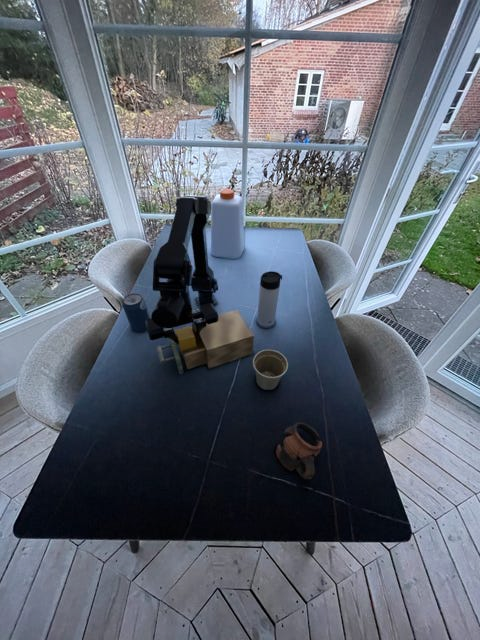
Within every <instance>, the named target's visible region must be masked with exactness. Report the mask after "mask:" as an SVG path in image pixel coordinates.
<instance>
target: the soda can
mask: <svg viewBox="0 0 480 640" xmlns="http://www.w3.org/2000/svg"><path fill="white" fill-rule="evenodd" d="M122 309H123V311H124V313H125V317H126V319H127V321H128V324H129V327H130V328H131V329H132V330H134V331H135V332H145V331H147V327H146V324H145V322H146V320H147V319H150V318H151V315H150V312H149V309H148V306H147V302H146V300H145V298H144V297H143V296H142V295H141V294H139V293H130V294H127V295H126V296H124V298H123V299H122Z"/></svg>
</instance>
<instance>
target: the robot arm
mask: <svg viewBox="0 0 480 640" xmlns="http://www.w3.org/2000/svg"><path fill="white" fill-rule="evenodd" d="M211 203H212V200H210V199H209V198H208V197H207V196H206V195H193V194H192V195H191V194H185V195H184V196H179V197H177V198H176V200H175V208H176V209H175V212H174V213H175V214H174V216H173V220H172V223H171V224H172V225H171V228H170V231H169V235H168V239H167V242H165V243H164V244H163V245H162V246H160V247H159V249H158V252H157V254H156V257H155V258H154V260H153V267H152V269H153V270H152V291H154V292H159V295H158V300H157V303H156V304H155V307H154V308H153V310H152V312H151V315H150V319H147V320H146V322H145V324H146V327H147V329H146V331H147V335H148V338H149V340H151V341H155V340H159V339H162V338H164V339H168V340H169V339H171V340H173V341H174V342H175V344H176V346H179V341H178V338H177V336H176V332H175V328H178V327H181V326H185V325H189V324H191V328H192V331H193V333H194V335H195V340H196V338H197V336H198V335H199V333H200V332H201V330H202V329H203V328H204V327H206V326H207V325H206V324H212V323H216V322H218V320H219V318H218V315H219V313H218V311H217V310H216V308H215V306H216V305H218V302H217V300H216V299H215V297H214V294H216V292H217V291H219V284H218V283H219V282H218V279H217V278H216V277H215V272H214V270H213V269H212V267H210V266H209V256H208V255H209V254H208V244H207V242H208V241H207V231H206V225H207V223H208V222H209V219H210V217H211ZM190 240H191V247H192V255H193V262H194V263H193V264H194V267H193V265H192V262H191V258H190V254H189V251H188V249H189V245H190ZM160 279H162V280H166V281H160ZM190 287H191V291H192V292H197V296H196V298H195V299H196V302H197V303H198V309H193V306H192V301H191V300H192V299H191V293H190ZM204 319H205V320H204Z"/></svg>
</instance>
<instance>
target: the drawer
mask: <svg viewBox="0 0 480 640" xmlns="http://www.w3.org/2000/svg"><path fill="white" fill-rule="evenodd" d="M168 341H169V344H166V345H162V346H161V345H157V346H156V347H155V349H156V352H157V357H158V360H159V363H160V365H165V364H166V362H170V361H173V360H174V361H175V364H176V368H177V371H178V374H179V375H183V374H184V368H183V364H182V359H181V356H180V353H179V350H180V352H181V355H182V358H183V361H184V364H185V367H186V369H187V370H190V369H193V368H196V367H199V366H202V365H205V364H206V365H207V363H208V362H207V353H206V349H205V346H204V344H203V342H202V340H201V337H200V335H198V336H197V338H196V340H195V341H196V347H194V348H190V349H187V350H184V351H181V349H180V346H179V345H178V347H179V349H178V347H177V344H176V343H175V342H174V341H173V340H171V339H169V338H168ZM168 348H171V352H172V355H173V356H170V357H167V358H166V357H165V354H164V350H165V349H168Z"/></svg>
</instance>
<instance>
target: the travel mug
mask: <svg viewBox="0 0 480 640" xmlns="http://www.w3.org/2000/svg"><path fill="white" fill-rule="evenodd" d="M282 280H283V274H281V273H279V272H277V271H273V270H272V271H265V272H263V273H262V274H261V275H260V282H259V289H258V290H259V291H258V302H257V303H258V304H257V314H256V324H257V325H258V326H259V327H261V328H264V329H270V328H271V327H273V326H274V325H275V320H276V314H277V307H278V301H279V296H280V287H281V281H282Z"/></svg>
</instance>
